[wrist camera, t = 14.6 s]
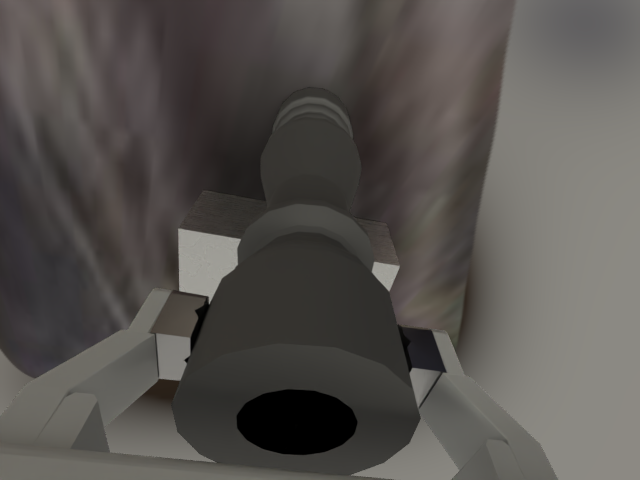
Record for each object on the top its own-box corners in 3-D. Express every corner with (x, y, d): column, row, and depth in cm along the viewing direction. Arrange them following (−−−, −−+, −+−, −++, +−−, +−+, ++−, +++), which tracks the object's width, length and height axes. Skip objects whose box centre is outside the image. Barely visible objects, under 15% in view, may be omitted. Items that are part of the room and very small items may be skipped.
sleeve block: (200, 321, 42) (180, 371, 36) (203, 189, 33) (178, 228, 27) (343, 341, 44) (346, 392, 39) (386, 223, 35) (400, 266, 29)
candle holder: (261, 111, 28) (96, 392, 7) (329, 71, 27) (364, 287, 6) (299, 174, 31) (258, 501, 10) (362, 142, 30) (464, 452, 9)
